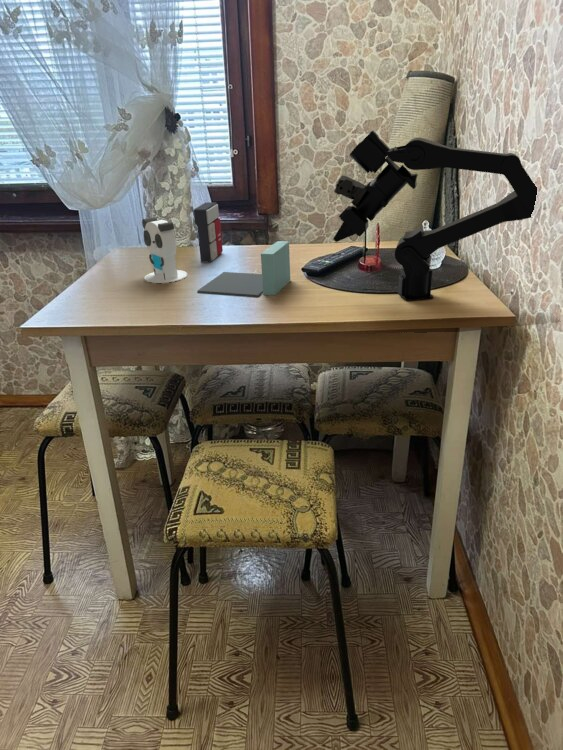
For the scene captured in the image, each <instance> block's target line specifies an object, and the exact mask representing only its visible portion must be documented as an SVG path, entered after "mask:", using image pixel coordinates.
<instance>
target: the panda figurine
mask: <svg viewBox="0 0 563 750" xmlns="http://www.w3.org/2000/svg"><path fill="white" fill-rule="evenodd" d="M141 224H142V228H143V229H144V230H143V241H144V245H145V246H146V248H147V250H148V252H149V261H150V263H151V264H152V267H153V272H150V273H148V274H146V275H145V276H144V281H145V280H146V281H145V282H147V283H149V282H152V283H151V284H156V283H162V284H170V283H169V282H172V283H176V282H175V281H177V282H180V281H183V280H185V279H186V278H187V277H188V272H186V271H185V270H180V269H178V268H177V262H176V261H177V260H176V253H177V249H178V248H177V246H178V245H177V240H176V234H175V230H174V229H175V225H174V223H173V222H172V221H169V222H168V221H167V220H165V219H160V220H159V219H158V218H157V217H156V216H154V217H153V216H152V217H148V218H142V220H141ZM184 278H185V279H184ZM182 279H183V280H182ZM179 280H180V281H179Z"/></svg>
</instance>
